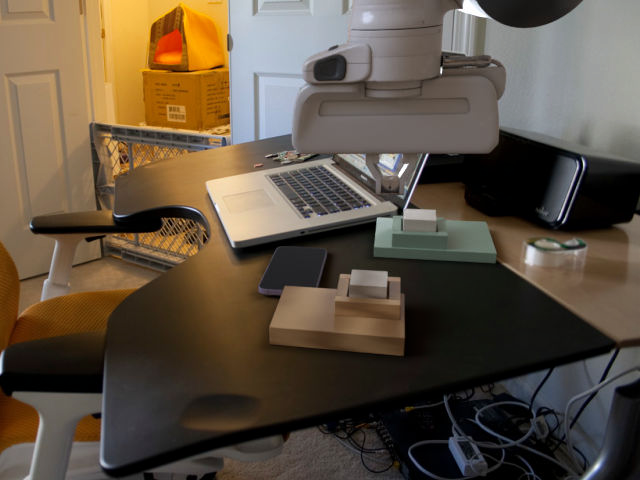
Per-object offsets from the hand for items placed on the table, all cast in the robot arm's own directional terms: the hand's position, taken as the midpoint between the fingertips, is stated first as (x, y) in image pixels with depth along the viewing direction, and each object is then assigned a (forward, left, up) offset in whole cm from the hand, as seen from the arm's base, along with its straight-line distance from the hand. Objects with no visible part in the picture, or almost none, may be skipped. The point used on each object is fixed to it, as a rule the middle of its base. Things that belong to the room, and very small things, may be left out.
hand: (389, 193), depth 67 cm
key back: (-4, -21, -12) cm, 25 cm away
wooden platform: (+5, +3, -15) cm, 16 cm away
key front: (+2, +1, -11) cm, 12 cm away
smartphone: (+12, -10, -15) cm, 22 cm away
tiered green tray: (-6, -23, -15) cm, 28 cm away
